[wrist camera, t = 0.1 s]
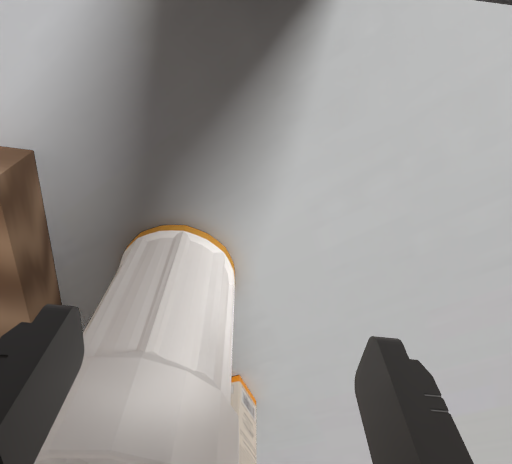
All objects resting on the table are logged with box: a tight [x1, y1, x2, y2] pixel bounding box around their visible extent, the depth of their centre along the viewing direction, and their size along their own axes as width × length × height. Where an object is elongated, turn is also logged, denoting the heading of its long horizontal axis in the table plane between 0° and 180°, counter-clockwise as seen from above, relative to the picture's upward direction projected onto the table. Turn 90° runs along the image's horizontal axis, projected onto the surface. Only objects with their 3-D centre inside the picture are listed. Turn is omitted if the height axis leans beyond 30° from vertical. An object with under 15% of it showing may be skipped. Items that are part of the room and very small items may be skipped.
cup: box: [34, 225, 239, 464], centre depth 24 cm, size 11×11×17 cm
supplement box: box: [230, 375, 256, 464], centre depth 35 cm, size 8×5×13 cm, turn 111°
